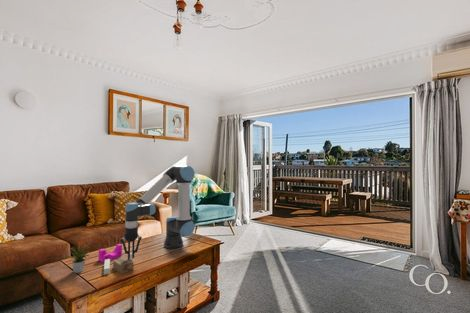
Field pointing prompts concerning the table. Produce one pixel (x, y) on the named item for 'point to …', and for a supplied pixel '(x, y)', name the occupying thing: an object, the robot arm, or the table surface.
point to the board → (107, 266)
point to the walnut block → (123, 265)
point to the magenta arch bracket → (112, 255)
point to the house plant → (78, 259)
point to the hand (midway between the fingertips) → (130, 263)
